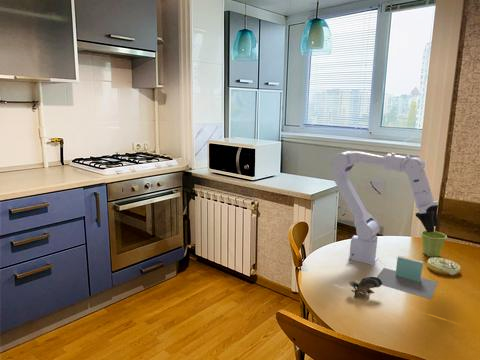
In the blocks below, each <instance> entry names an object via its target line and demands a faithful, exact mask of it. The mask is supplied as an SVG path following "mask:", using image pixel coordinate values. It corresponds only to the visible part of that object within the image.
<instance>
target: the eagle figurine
mask: <svg viewBox="0 0 480 360" xmlns="http://www.w3.org/2000/svg"><path fill="white" fill-rule="evenodd" d="M376 277H377V276H376ZM376 277H375V276H369V277H365V278H361V280H360V281H359V282H357V281H355V280H350V281H349V282H348V284H349V286H351V287H352V288H353V289H354V290H353V289H352V290H351V292H353V293H354V295H353V298H357V297H359V293H362V294H363V295H364V296H366V297H367V298H368V299H370V294H369V293H368V292H369V291H370V292H372V293H374V291H373V290H372V289H374V288H380V287H381V286H383V285H382V281H381V280H380V279H379V278H376Z"/></svg>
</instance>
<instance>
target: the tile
mask: <svg viewBox="0 0 480 360" xmlns="http://www.w3.org/2000/svg"><path fill="white" fill-rule="evenodd" d="M396 259H397V260H396V269H395V271H396V276H400V277H403V278H407V279H411V280H414V281H418V282H420V281H421V278H422V274H423V266H424V261H423V260H420V259H414V258H409V257H406V256H402V255H398V256H397V258H396Z"/></svg>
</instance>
